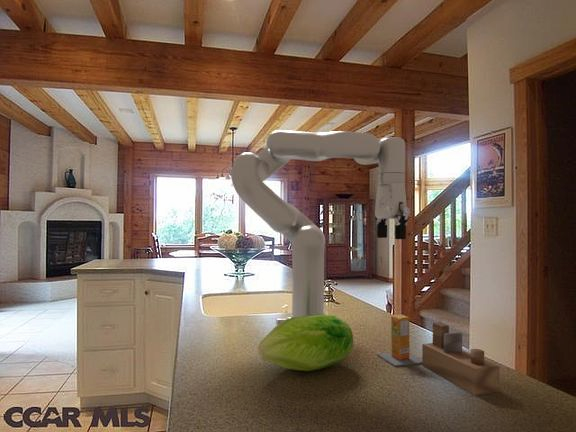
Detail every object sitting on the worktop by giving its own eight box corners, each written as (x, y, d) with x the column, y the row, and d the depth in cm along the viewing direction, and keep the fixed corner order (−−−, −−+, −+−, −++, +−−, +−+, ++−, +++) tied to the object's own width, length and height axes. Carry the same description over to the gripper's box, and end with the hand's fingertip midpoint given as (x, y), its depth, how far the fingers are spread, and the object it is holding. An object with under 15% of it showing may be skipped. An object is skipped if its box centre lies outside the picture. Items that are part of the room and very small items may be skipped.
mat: (395, 366, 90) (395, 365, 90) (377, 355, 97) (377, 353, 97) (425, 363, 92) (425, 361, 92) (405, 352, 100) (405, 351, 100)
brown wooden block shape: (474, 395, 76) (475, 342, 76) (422, 365, 91) (422, 322, 91) (499, 391, 77) (499, 340, 78) (443, 363, 93) (444, 320, 93)
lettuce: (248, 366, 89) (249, 314, 89) (335, 353, 98) (335, 306, 98) (270, 389, 77) (271, 329, 77) (366, 372, 87) (367, 318, 87)
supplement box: (389, 356, 96) (390, 315, 96) (401, 354, 97) (401, 313, 97) (398, 360, 93) (399, 318, 93) (410, 358, 94) (410, 316, 94)
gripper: (365, 182, 124) (365, 237, 123) (396, 176, 107) (396, 239, 107) (386, 183, 126) (386, 237, 125) (420, 178, 109) (419, 239, 109)
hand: (390, 238), depth 116 cm, fingers open, 9 cm apart
